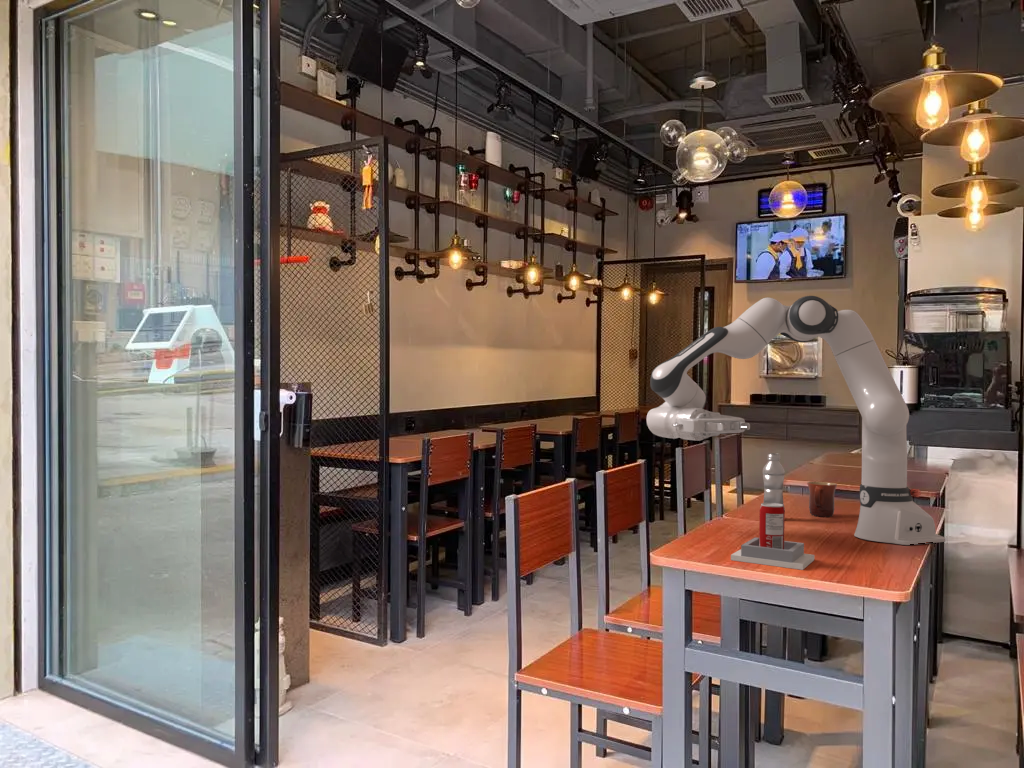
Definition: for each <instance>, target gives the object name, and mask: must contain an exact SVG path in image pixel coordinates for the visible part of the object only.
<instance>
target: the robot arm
mask: <svg viewBox="0 0 1024 768" xmlns="http://www.w3.org/2000/svg"><path fill="white" fill-rule="evenodd" d="M778 335H782V336H784V337H786V338H788V339H790V340H792V341H795V342H797V343H807V342H811V341H813V340H815V339H816V338H818V337H819V338H821V339H822V340H824V341H825V342H826V343H827V345H828V346H829V347H830V350H831V352H832V354H833V357H834V359H835V361H836V364H837V366H838V368H839V371H840V372H841V374H842V377H843V379H844V381H845V384H846V385H847V388H848V390H849V393H850V394H851V397H852V398H853V400H854V403H855V406H856V407H857V409H858V411H859V413H860V416H861V484H860V485H859V494H858V495H859V503H860V507H859V515H858V520H857V525H856V529H855V531H854V534H853V535H854V537H856V538H857V539H858V538H859V539H861V540H865V541H872V542H879V543H887V544H896V545H903V546H911V545H910V544H914V545H919V544H918V543H925V544H927V543H926V542H933V543H932V544H935V543H943V542H945V543H946V538H945V536H944V535H940V534H938V533H936V532H937V531H936V524H935V520H934V518H933V516H931V515H930V514H929V513H928V512H927V511H925V510H924V509H923V508H922V507H920V505H918V504H917V503H916V502H914V501H913V500H914V499H913V497H916V498H919V497H921V496H922V491H921V490H920V489H919V488H917V489H916V488H911V489H910V487H908V442H907V440H908V439H907V425H908V422H909V419H910V411H909V408H908V405H907V403H906V401H905V399H904V398H903V395H902V393H901V390H900V389H899V388H898V386H897V383H896V381H895V380H894V377H893V376H892V374H891V372H890V369H889V368H888V365H887V364H886V361H885V360H884V357H883V354H882V353H881V351H880V348H879V346H878V344H877V343H876V340H875V338H874V336H873V334H872V333H871V330H870V328H869V327H868V326H867V324H866V323H865V321H864V320H863V318H862V317H861V316H860V315H859V313H858V312H857V311H855V310H852V309H841V310H838V309H837V308H836V307H834V306H833V305H832V304H830V303H828V302H827V301H826V300H824V299H823V298H821V297H820V296H817V295H805V296H802V297H800V298H798V299H796V300H795V301H794V302H793V304H792V305H784V304H782V302H780V301H779V300H777V299H776V298H773V297H764V298H761V299H759V300H758V301H756V302H755V303H754V304H752V305H751V306H749V308H747V309H746V310H745V311H743V312H742V313H741V314H740V315H739V316H738V317H737V318H736V319H735V320H733V321H732V322H731V323H729V324H728V325H726V326H716V327H715V326H714V327H713V328H711V329H709V330H708V331H706V332H705V333H704V334H702V335H700V336H699V337H698V338H697V339H695V340H694V341H692V342H691V343H690V344H689V345H687V346H686V347H685V348H683V349H681V351H679V352H677V353H676V354H675V355H673V356H672V357H670V358H669V359H667V360H665V361H663V362H662V363H660V364H658V365H657V366H656V367H655V368H653V370H652V371H651V375H650V380H649V381H650V384H649V386H650V389H651V391H653V393H655V394H656V395H658V396H659V397H660V398H661V399H663V401H664V402H663V403H662V404H660V405H659V406H657V407H654V408H651V409H650V410H649V411H648V412H647V415H646V418H645V419H646V426H647V427H648V429H649V431H650V432H651V433H652V434H653V435H654V436H657V437H660V438H667V439H673V440H675V439H679V438H680V439H682V440H686V441H687V440H689V441H697V442H698V441H699V442H700V441H704V440H706V439H709V438H710V437H717V436H720V434H721V435H723V434H735V433H736V434H737V433H744V432H745V431H750V429H751V424H750V423H749V422H746V421H745V418H742V417H739V416H732V415H726V414H721V413H720V412H717V411H709V410H708V409H704V408H705V406H706V403H707V395H706V393H705V392H704V391H703V389H702V388H701V387H700V385H698V383H696V382H695V381H694V380H693V378H691V376H689V374H688V372H689V370H690V369H692V368H693V367H694V366H695V365H697V364H698V363H700V362H701V361H702V360H704V359H705V358H706V357H708V356H709V355H711V354H715V353H720V354H724V355H727V356H729V357H731V358H734V359H738V360H748V359H752V358H754V357H755V356H756V355H759V353H761V351H762V350H763V349H764V348H765V347H766V346H767V345H768V344H769V343H770V342H771V341H772V340H773V339H774V338H775V337H777V336H778Z"/></svg>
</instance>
